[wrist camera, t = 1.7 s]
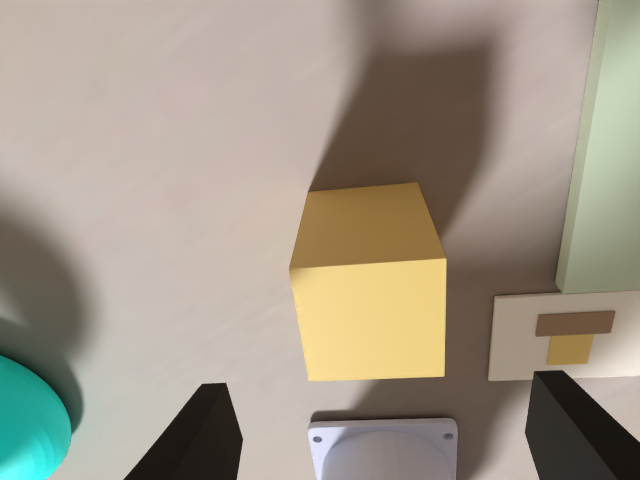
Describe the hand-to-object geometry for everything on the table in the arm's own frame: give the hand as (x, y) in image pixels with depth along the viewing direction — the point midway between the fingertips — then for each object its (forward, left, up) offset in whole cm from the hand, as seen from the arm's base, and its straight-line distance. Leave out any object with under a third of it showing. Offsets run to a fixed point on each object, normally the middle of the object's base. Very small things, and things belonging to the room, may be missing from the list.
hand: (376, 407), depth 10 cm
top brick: (0, 0, -9) cm, 9 cm away
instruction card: (-6, -9, -9) cm, 14 cm away
